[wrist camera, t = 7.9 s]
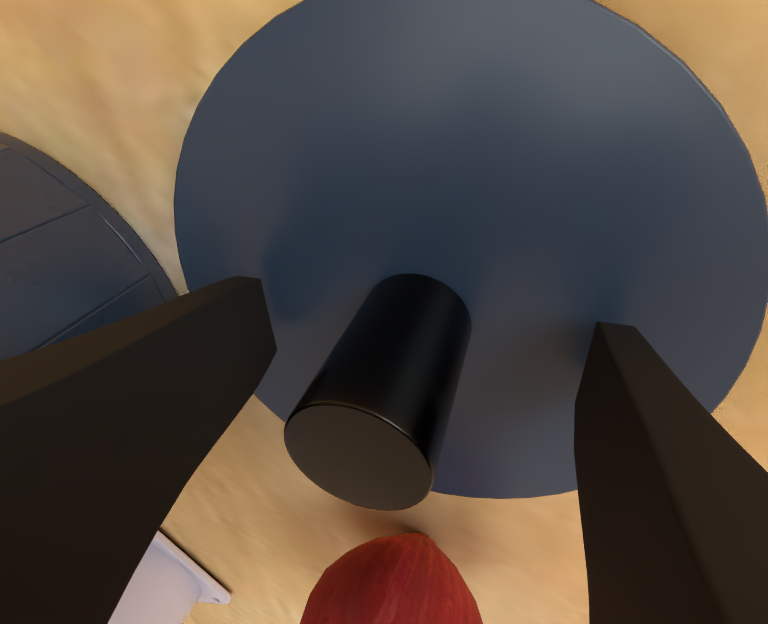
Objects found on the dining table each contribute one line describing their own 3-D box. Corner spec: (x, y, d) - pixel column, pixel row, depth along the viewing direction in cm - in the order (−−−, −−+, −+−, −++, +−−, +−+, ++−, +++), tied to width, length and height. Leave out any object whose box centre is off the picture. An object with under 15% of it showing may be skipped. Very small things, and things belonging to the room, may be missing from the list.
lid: (365, 485, 16) (304, 639, 12) (118, 184, 12) (-99, 272, 8) (809, 431, 9) (987, 725, 6) (618, -283, 5) (801, -1122, 1)
